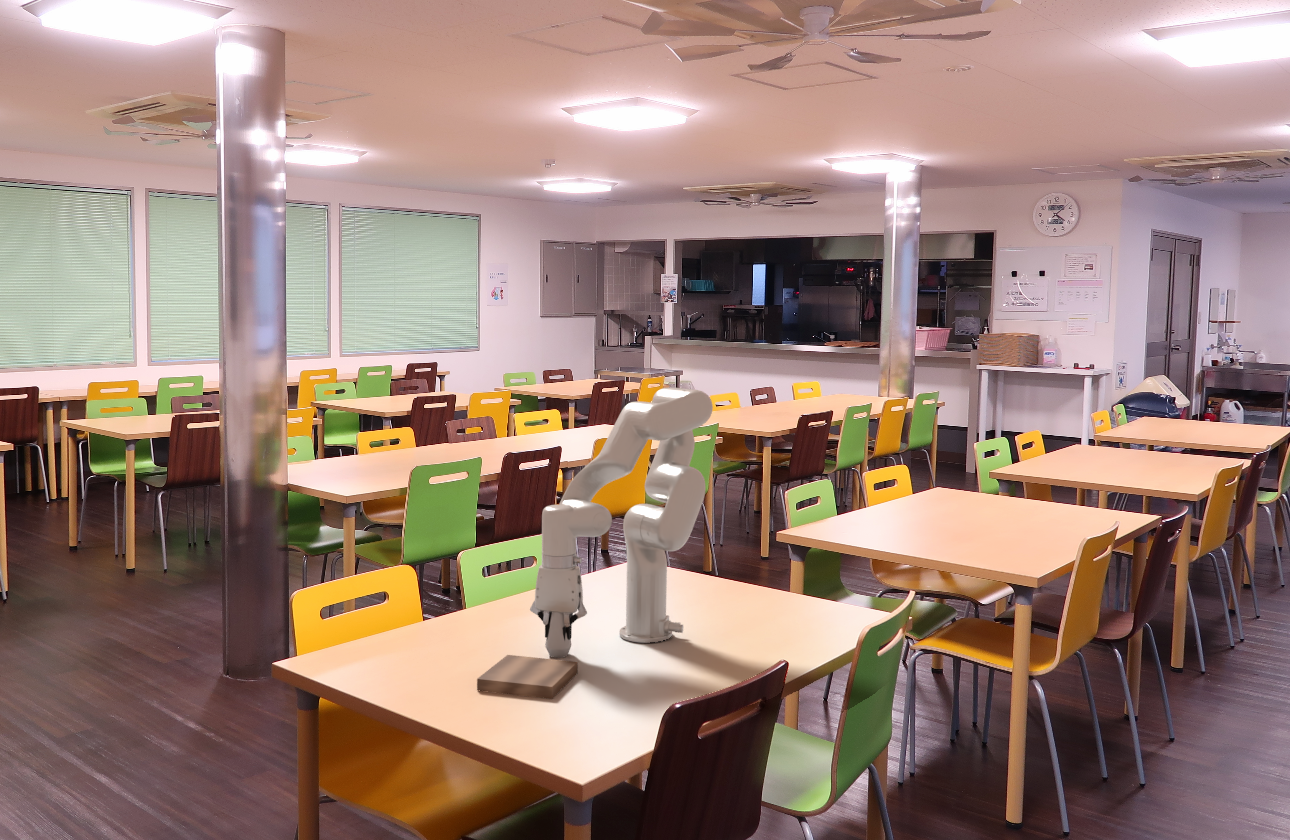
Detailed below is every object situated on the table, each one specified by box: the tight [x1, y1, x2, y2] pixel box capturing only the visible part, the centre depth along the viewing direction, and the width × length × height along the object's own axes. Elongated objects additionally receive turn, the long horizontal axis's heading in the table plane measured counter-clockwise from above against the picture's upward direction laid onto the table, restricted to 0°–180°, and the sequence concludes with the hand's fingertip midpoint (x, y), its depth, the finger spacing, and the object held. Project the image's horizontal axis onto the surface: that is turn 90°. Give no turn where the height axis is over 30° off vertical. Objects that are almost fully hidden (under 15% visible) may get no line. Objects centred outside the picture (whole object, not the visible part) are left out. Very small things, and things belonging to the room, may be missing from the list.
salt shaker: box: [544, 612, 572, 659], centre depth 231 cm, size 6×6×13 cm
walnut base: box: [476, 654, 579, 700], centre depth 215 cm, size 16×16×3 cm
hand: (558, 641), depth 232 cm, fingers closed on salt shaker, 3 cm apart
